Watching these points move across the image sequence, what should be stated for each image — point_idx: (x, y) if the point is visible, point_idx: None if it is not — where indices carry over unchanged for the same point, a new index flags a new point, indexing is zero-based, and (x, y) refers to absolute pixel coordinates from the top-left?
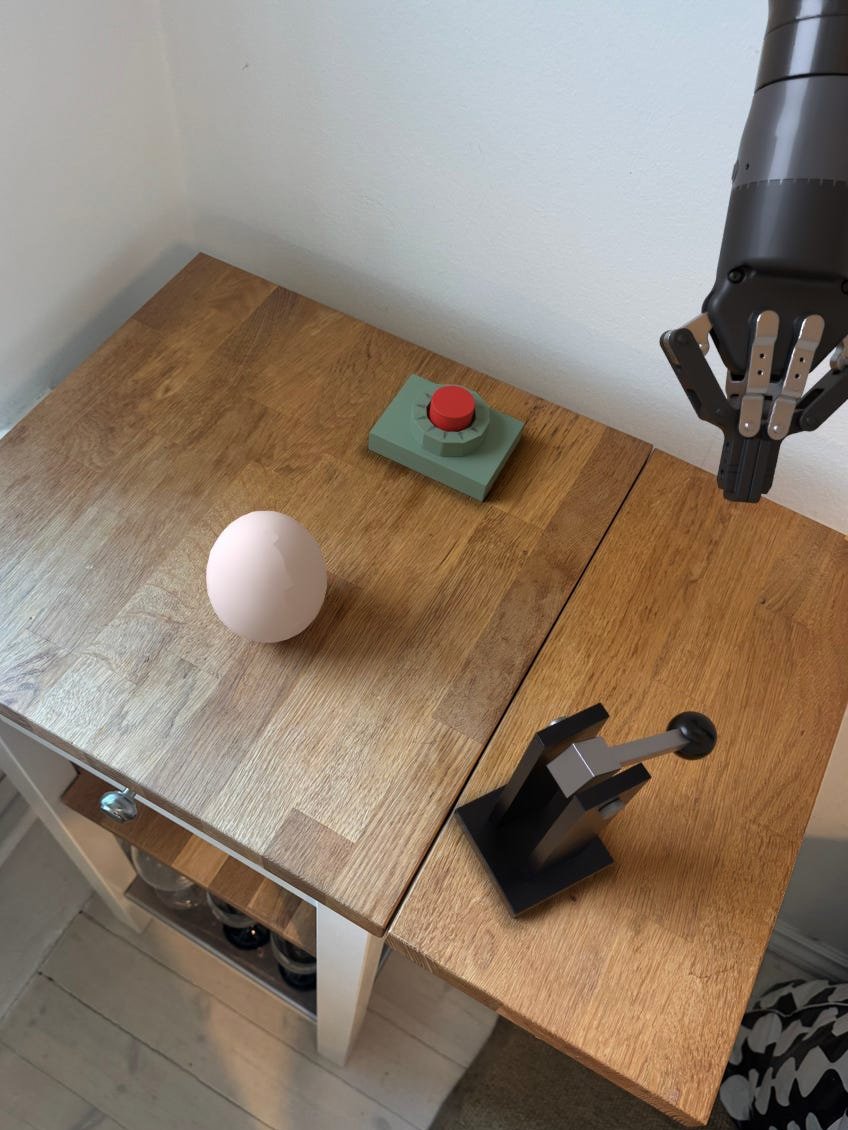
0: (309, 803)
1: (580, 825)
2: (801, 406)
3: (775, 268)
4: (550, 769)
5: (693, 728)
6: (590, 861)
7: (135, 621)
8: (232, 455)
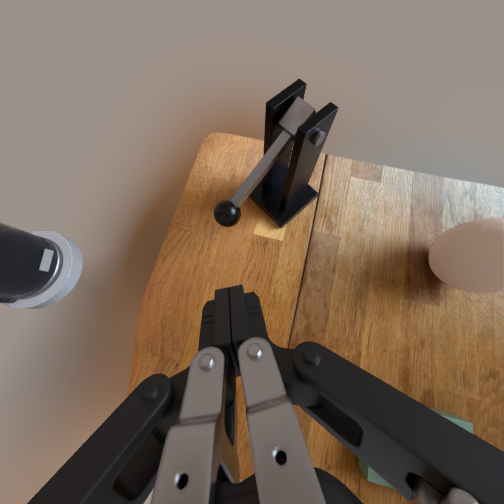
0: (375, 185)
1: None
2: (161, 449)
3: None
4: None
5: (229, 205)
6: (257, 188)
7: None
8: None
